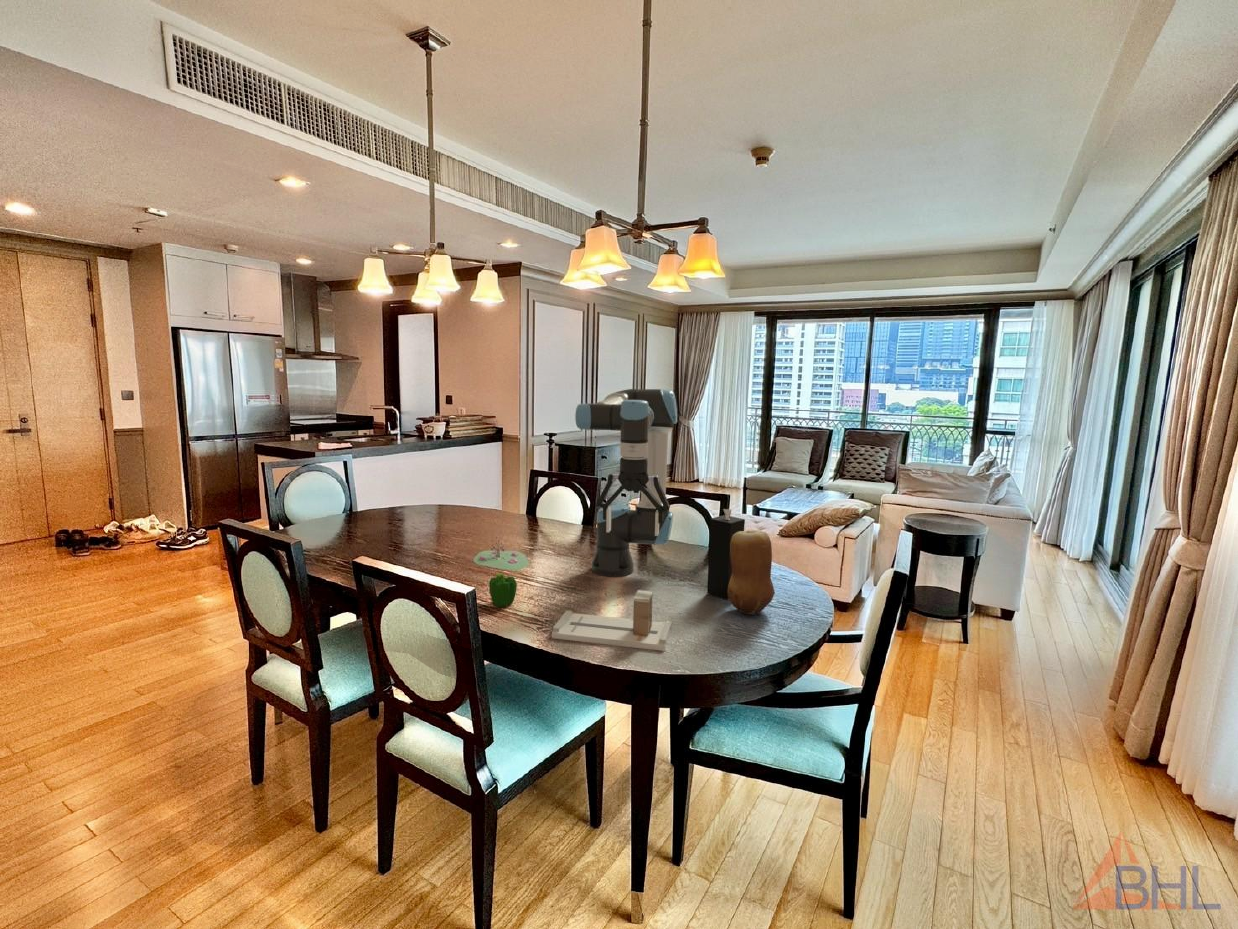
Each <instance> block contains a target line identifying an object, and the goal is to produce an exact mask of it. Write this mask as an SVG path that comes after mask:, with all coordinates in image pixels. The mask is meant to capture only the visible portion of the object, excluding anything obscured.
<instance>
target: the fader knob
mask: <svg viewBox="0 0 1238 929" xmlns="http://www.w3.org/2000/svg"><path fill="white" fill-rule="evenodd" d="M632 610H633V612H632V613H633V615H632V618H633V634H638V635H647V636H648V634H649V632H650V629H651V627H652V620H653V591H650V590H639V589H638V590H637V591H636V593H635V595H634V596H633V609H632Z"/></svg>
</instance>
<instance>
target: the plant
mask: <svg viewBox="0 0 1238 929" xmlns="http://www.w3.org/2000/svg"><path fill="white" fill-rule="evenodd" d="M497 538H498V536H495V539H497ZM490 541H491V543H492V545H491V546H492V548H491V549H490V550H483V551H479V553H477V554H476V556H474V557H473V563H474V564H476V565H479V566H484V567H489V568H494V569H500V570H508V571H513V572H517V571H521V570H523V569H526V568H527V567H528V566H530V561H529V560H528V558H527V556H526V555H525V554H524V553H522V552H520V551H518V550H505V549H504V545H503V544H500V539H499V538H498V539H497V540H495V541H493V539H491V540H490Z"/></svg>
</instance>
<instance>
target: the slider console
mask: <svg viewBox="0 0 1238 929" xmlns="http://www.w3.org/2000/svg"><path fill="white" fill-rule="evenodd" d="M672 630H673V622H672V621H670V620H665V621H664V622H660V621H652V627H651V629H650V632H649V634H648V636H647V635H638V634H633V619H631V618H621V617H613V616H605V615H603V616H602V615H595V614H594V615H593V614H584V613H575V612H572V610H565V612H564V613H563V614H562V616H560V618H559V619H558V621H557V622H556V623H555V624H554V626H553V627H552V632H551V639H557V640H565V641H574V642H581V643H582V642H583V643H592V644H600V645H608V646H617V647H618V646H619V647H627V648H628V647H629V648H635V649H645V650H653V651H662V652H665V651H666V649H667V646H668V644H669V643H668V642H669V639H670V636H671V633H672Z"/></svg>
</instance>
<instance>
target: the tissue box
mask: <svg viewBox="0 0 1238 929" xmlns="http://www.w3.org/2000/svg"><path fill="white" fill-rule="evenodd" d="M722 510H723V512H724V514H723V515H719V516H716V517H711V518H710V519H709V536H708V537H709V538H708V540H709V543H708V565H707V567H708V568H707V571H708V572H707V588H706V593H707V594H709V595H712V596H715V597H718V598H721V599H724V600H729V597H728V585H729V581H730V578H731V575H732V564H731V557H730V542H731V538H732V536H733V534H735V533H737V532H739V531H745V525H746V519H745V518H741V517H735V516H731V514H732V509H730V508H728V509H727V508H723V509H722Z"/></svg>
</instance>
